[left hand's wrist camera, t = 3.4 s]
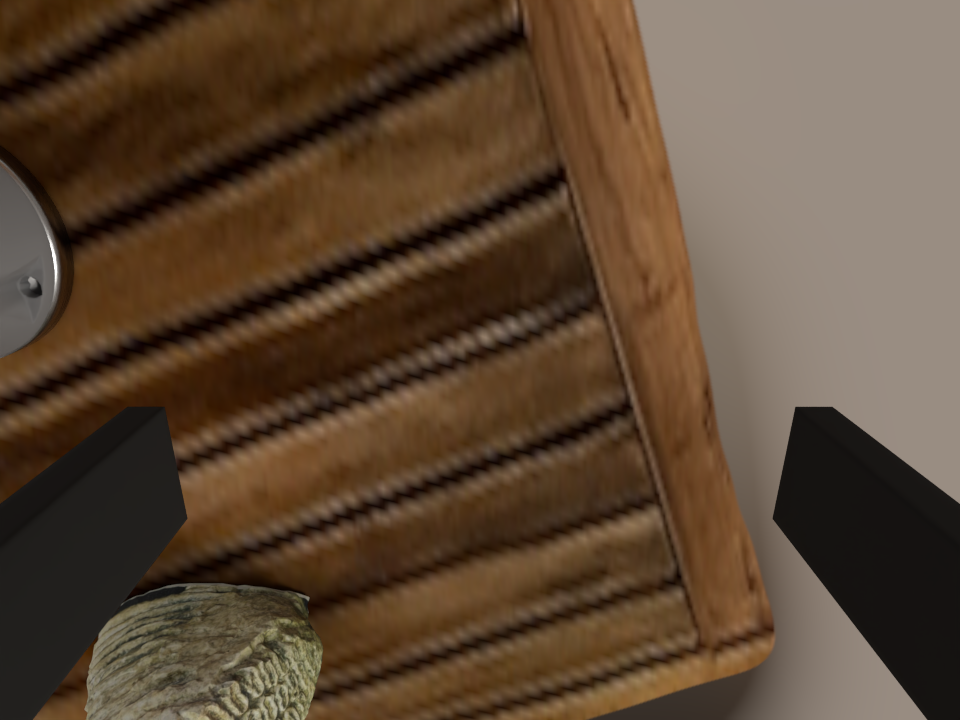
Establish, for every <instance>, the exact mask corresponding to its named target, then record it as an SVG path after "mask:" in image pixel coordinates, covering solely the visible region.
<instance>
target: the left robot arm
mask: <svg viewBox="0 0 960 720" xmlns="http://www.w3.org/2000/svg"><path fill="white" fill-rule="evenodd" d="M73 275H74V268H73V256H72V249H71V245H70V241H69V237H68V234H67V231H66V228H65V225H64V223H63V221H62V218H61V216H60V214H59V212H58V210H57V208H56V207H55V205H54V203H53V201H52V200H51V198H50V197H49V195H48V194H47V192H46V191H45V189H44V188H43V187H42V185H41V184H40V183H39V181H38V180H37V179H36V178H35V177H34V176H33V175H32V173H31V172H30V171H29V170H28V169H27V168H26V167H25V166H24V165H23V164H22V163H21V162H20V161H18V160H17V159H16V158H15V157H14V156H13V155H11V154H10V153H9V152H8V151H6V150H5V149H3V148H2V147H1V146H0V358H2V357H4V356H7V355H9V354H11V353H14V352H16V351H18V350H20V349H22V348H24V347H27V346H29V345H31V344H33V343H34V342H36V341H38V340H39V339H41V338H42V337H43V336H45V335H46V334H47V333H48V332H49V331H50V330H51V329H52V328H53V327H54V326H55V325H56V323H57V322H58V321H59V319H60V318H61V316H62V315H63V313H64V311H65V309H66V307H67V304H68V302H69V298H70V295H71V291H72V286H73ZM186 520H187V514H186V509H185V505H184V500H183V495H182V490H181V485H180V480H179V475H178V470H177V466H176V461H175V456H174V451H173V446H172V441H171V436H170V431H169V426H168V422H167V417H166V412H165V407H127V408H126V409H124V410H123V411H122V412H120V413H119V414H118V415H116V416H115V417H114V418H112V419H111V420H110V421H108V422H107V423H106V424H105V425H103V426H102V427H101V428H99V429H98V430H97V431H95V432H94V433H93V434H91V435H90V436H89V437H87V438H86V439H85V440H84V441H82V442H81V443H80V444H78V445H77V446H76V447H74V448H73V449H72V450H70V451H69V452H68V453H66V454H65V455H64V456H63V457H61V458H60V459H59V460H57V461H56V462H55V463H53V464H52V465H51V466H49V467H48V468H47V469H45V470H44V471H43V472H42V473H40V474H39V475H38V476H36V477H35V478H34V479H32V480H31V481H30V482H28V483H27V484H26V485H24V486H23V487H22V488H21V489H19V490H18V491H17V492H15V493H14V494H13V495H11V496H10V497H9V498H7V499H6V500H5V501H3V502H2V503H1V504H0V720H33V719H34V717H35V716H36V715H37V713H38V712H39V711H40V709H41V708H42V707H43V706H44V704H45V703H46V702H47V700H48V699H49V698H50V696H51V695H52V694H53V693H54V691H55V690H56V689H57V687H58V686H59V685H60V683H61V682H62V681H63V680H64V678H65V677H66V676H67V674H68V673H69V672H70V670H71V669H72V668H73V667H74V665H75V664H76V663H77V661H78V660H79V659H80V657H81V656H82V655H83V654H84V652H85V651H86V650H87V648H88V647H89V646H90V645H91V643H92V642H93V641H94V639H95V638H96V637H97V635H98V634H99V633H100V632H101V630H102V629H103V628H104V626H105V625H106V624H107V622H108V621H109V620H110V619H111V617H112V616H113V615H114V613H115V612H116V611H117V609H118V608H119V607H120V606H121V604H122V603H123V602H124V600H125V599H126V598H127V596H128V595H129V594H130V593H131V591H132V590H133V589H134V587H135V586H136V585H137V583H138V582H139V581H140V580H141V578H142V577H143V576H144V574H145V573H146V572H147V570H148V569H149V568H150V567H151V565H152V564H153V563H154V561H155V560H156V559H157V557H158V556H159V555H160V554H161V552H162V551H163V550H164V548H165V547H166V546H167V544H168V543H169V542H170V541H171V539H172V538H173V537H174V535H175V534H176V533H177V531H178V530H179V529H180V528H181V526H182V525H183V524H184V522H185V521H186ZM773 520H774V521H775V522H776V524H777V525H778V526H779V528H780V529H781V530H782V531H783V533H784V534H785V535H786V537H787V538H788V539H789V541H790V542H791V543H792V544H793V546H794V547H795V548H796V550H797V551H798V552H799V553H800V555H801V556H802V557H803V559H804V560H805V561H806V563H807V564H808V565H809V567H810V568H811V569H812V570H813V572H814V573H815V574H816V576H817V577H818V578H819V580H820V581H821V582H822V583H823V585H824V586H825V587H826V589H827V590H828V591H829V593H830V594H831V595H832V596H833V598H834V599H835V600H836V602H837V603H838V604H839V606H840V607H841V608H842V609H843V611H844V612H845V613H846V615H847V616H848V617H849V618H850V620H851V621H852V622H853V624H854V625H855V626H856V628H857V629H858V630H859V632H860V633H861V634H862V635H863V637H864V638H865V639H866V641H867V642H868V643H869V644H870V646H871V647H872V648H873V650H874V651H875V652H876V654H877V655H878V656H879V657H880V659H881V660H882V661H883V663H884V664H885V665H886V667H887V668H888V669H889V670H890V672H891V673H892V674H893V676H894V677H895V678H896V680H897V681H898V682H899V683H900V685H901V686H902V687H903V689H904V690H905V691H906V693H907V694H908V695H909V696H910V698H911V699H912V700H913V702H914V703H915V704H916V706H917V707H918V708H919V709H920V711H921V712H922V713H923V715H924V716H925V717H926V719H927V720H960V504H959V503H958V502H957V501H955V500H954V499H953V498H951V497H950V496H949V495H947V494H946V493H945V492H943V491H942V490H941V489H939V488H938V487H937V486H936V485H934V484H933V483H932V482H930V481H929V480H928V479H926V478H925V477H924V476H922V475H921V474H920V473H918V472H917V471H916V470H915V469H913V468H912V467H911V466H909V465H908V464H907V463H905V462H904V461H903V460H901V459H900V458H899V457H897V456H896V455H895V454H894V453H892V452H891V451H890V450H888V449H887V448H886V447H884V446H883V445H882V444H880V443H879V442H878V441H876V440H875V439H874V438H873V437H871V436H870V435H869V434H867V433H866V432H865V431H863V430H862V429H861V428H859V427H858V426H857V425H855V424H854V423H853V422H851V421H850V420H849V419H848V418H846V417H845V416H844V415H842V414H841V413H840V412H838V411H837V410H836V409H834V408H833V407H795V412H794V417H793V422H792V426H791V431H790V436H789V441H788V446H787V451H786V456H785V461H784V466H783V470H782V475H781V480H780V485H779V490H778V495H777V500H776V505H775V510H774V514H773Z"/></svg>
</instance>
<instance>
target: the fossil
mask: <svg viewBox="0 0 960 720" xmlns="http://www.w3.org/2000/svg"><path fill="white" fill-rule="evenodd" d="M308 601H309V597H307V596H304V595H302V594H299V593H296V592H292V591H281V590H276V589H271V588H266V587H255V586H248V585H240V586H235V585H229V584H224V583H187V584H175V585H169V586H165V587H162V588H159V589H156V590H152V591H149V592H147V593H146V594H144V595H138V596H135V597H133V598H131V599H129V600H127V601H126V602H124V603H122V604H121V606H120V608H119V609H118V610H117V612H116V613H115V614H114V615H113V616H112V617H111V619H110V620H109V621H108V622H107V624H106V625H105V626H104V628H103V629H102V630H101V632H100V633H99V636H98V641H97V643H96V644H95V645H94V651H93V657H92V661H91V664H90V666H89V667H90V669H89V671H88V673H89V676H88V679H87V689H88V700H87V705H86V707H85V709H84V710H85V711H87V712H88V714H87V718H86V720H304V719H305V717H306V716H307V714H308V709H309V707H310V702H311V700H312V698H313V695H314V691H315V687H316V683H317V679H318V676H319V672H320V667H321V662H322V654H323V646H322V643H321V639H320V637H319V636H318V635H317V634H316V632H315V631H314V629H313V628H312V626H311V625H310V623H309V620H308V619H307V618H308V608H307V604H308Z"/></svg>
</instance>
